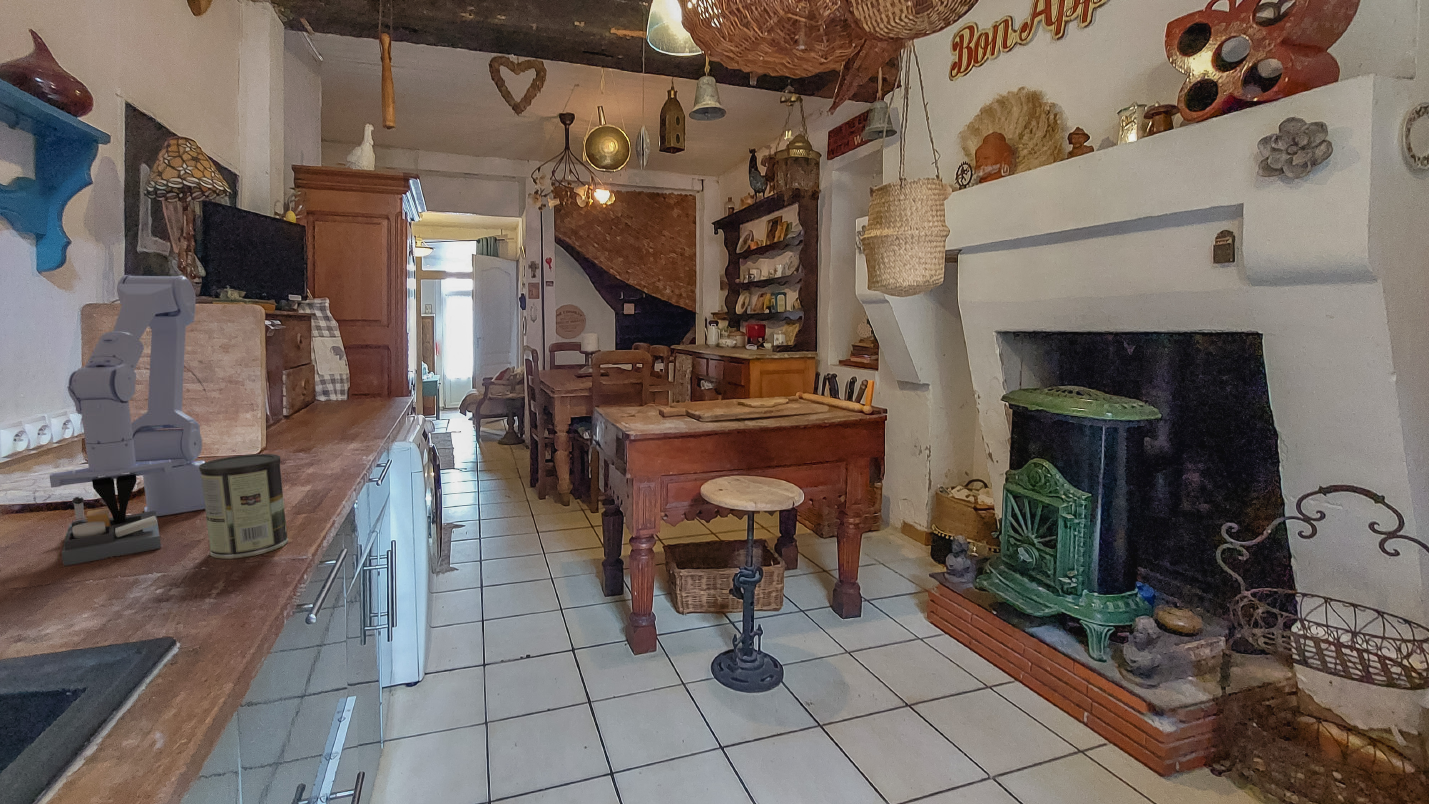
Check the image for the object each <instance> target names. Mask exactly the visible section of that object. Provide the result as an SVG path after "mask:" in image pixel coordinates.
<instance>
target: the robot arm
mask: <svg viewBox="0 0 1429 804" xmlns="http://www.w3.org/2000/svg"><path fill="white" fill-rule="evenodd" d="M116 293H117V297H118V300H119V303H120V308H119V312H118V315H117V318H116V321H115V324H114V326H113V330H112V331H108V332H105V333H103V334H102V335H100V337H99V339H98V341H97V343H96V345H95V347H94V349H93V351H92V352H91V354H90V356H89V358H88V361H87V362H86V364H85V366H83V367H80V368H78V369H77V370H75V371H73V372H71V374H70V376H69V377H68V386H67V392H68V395H69V397H70V399H72V401H73V402H74V406H75V407H74V408H75V411H76V413H77V414H78V415H80V416H81V423H82V430H83V435H84V443H85V450H86V458H87V467H86V468H79V469H73V470H67V471H60V472H59V471H58V472H53V473H50V474H49V483H50V487H51V488H59V487H61V486H68V485H76V484H84V483H92V489H94V491H95V492H96V493H97V494H98V496H99V497H100V498H101V500H102V501H103V502H104V504H105V505H106V508H108V509H109V513H111V516H112V517H113V519H114V523H115V524H118V523H124V522H126V519H125V517H126V515H127V510H128V504H129V501H130V498H131V495H132V493H133V490H134V489H135V487H136V485H137V483H138V481H137V477H142V478H143V480H142V481H143V485H144V486H143V488H144V494H145V502H146V503H145V504H146V506H145V507H143V510H144V513H145V512H151V511H156V517H157V518H158V517H162V516H171V515H175V514H181V513H182V514H183V513H188V512H193V511H200V510H205V502H204V494H203V486H202V478H201V471H200V469H199V466H200V465H201V464H203V463H205V462H206V461H205V460H197V459H198V457H199V456H200V455H201V453H202V450H203V440H202V435H201V430H200V429H201V426H200V423H199V422H198V421H197V420H196V419H195V418H193V417H191V416H190V415H188V414H186V413H184V412H183V394H184V392H183V391H184V375H185V373H184V372H185V371H184V368H185V351H186V350H185V348H186V347H185V346H186V331H187V330H186V328H187V326H189V325H191V324H193V323H194V322H195V316H196V301H197V300H196V299H197V296H196V292H195V289H194V286H193V284H192V282H191V281H190V280H189V279H188V277H186V276H184V275H177V276H175V275H174V276H172V275H171V276H170V275H169V276H168V275H166V276H165V275H159V276H157V275H131V274H125V275H122V276H121V278H120V279H119V280H118V282H117V286H116ZM147 328H149V329H150V330H151V335H150V336H151V337H150V340H151V341H150V355H149V356H150V358H149V380H148V398H147V399H148V400H147V411H146V412H145V413H144V414H142V415H140V416H139V417H137V418H136V419H135V420H133V421H132V419H131V411H130V401H131V399H132V398H133V397H134V395H135V394H136V387H137V386H136V379H137V373H136V371H135V370H136V367H138V366H137V365H138V363H139V361H140V358H141V356H142V354H143V352H144V350H145V347H144V343H143V342H142V341H141V340H140V339H142V337H143V335H144V333H146V330H147ZM115 485H116V486H115ZM116 492H117V495H116ZM117 500H118V502H117Z"/></svg>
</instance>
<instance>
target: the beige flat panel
mask: <svg viewBox="0 0 1429 804" xmlns="http://www.w3.org/2000/svg"><path fill="white" fill-rule="evenodd" d="M157 523H158V518H157V519H156V517H155V516H152V517H149V518H146V519H143V520H139V521H136V522H133V523H130V524H127V525H124V526H121V527H118V528H115V534H116V536H117V537H120V536H123V535H126V534H129V533H132V532H135V531H138V530H142V529H145V528H148V527H151V526H154V525H157Z"/></svg>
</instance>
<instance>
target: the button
mask: <svg viewBox="0 0 1429 804" xmlns="http://www.w3.org/2000/svg"><path fill="white" fill-rule="evenodd" d="M72 529H73V536H74V538H85V537H91V536H97V535H101V534H104V533H105V532H106V530H105V522H102V521H97V522H88V523H83V524H79V525H76V526H74V527H72Z"/></svg>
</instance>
